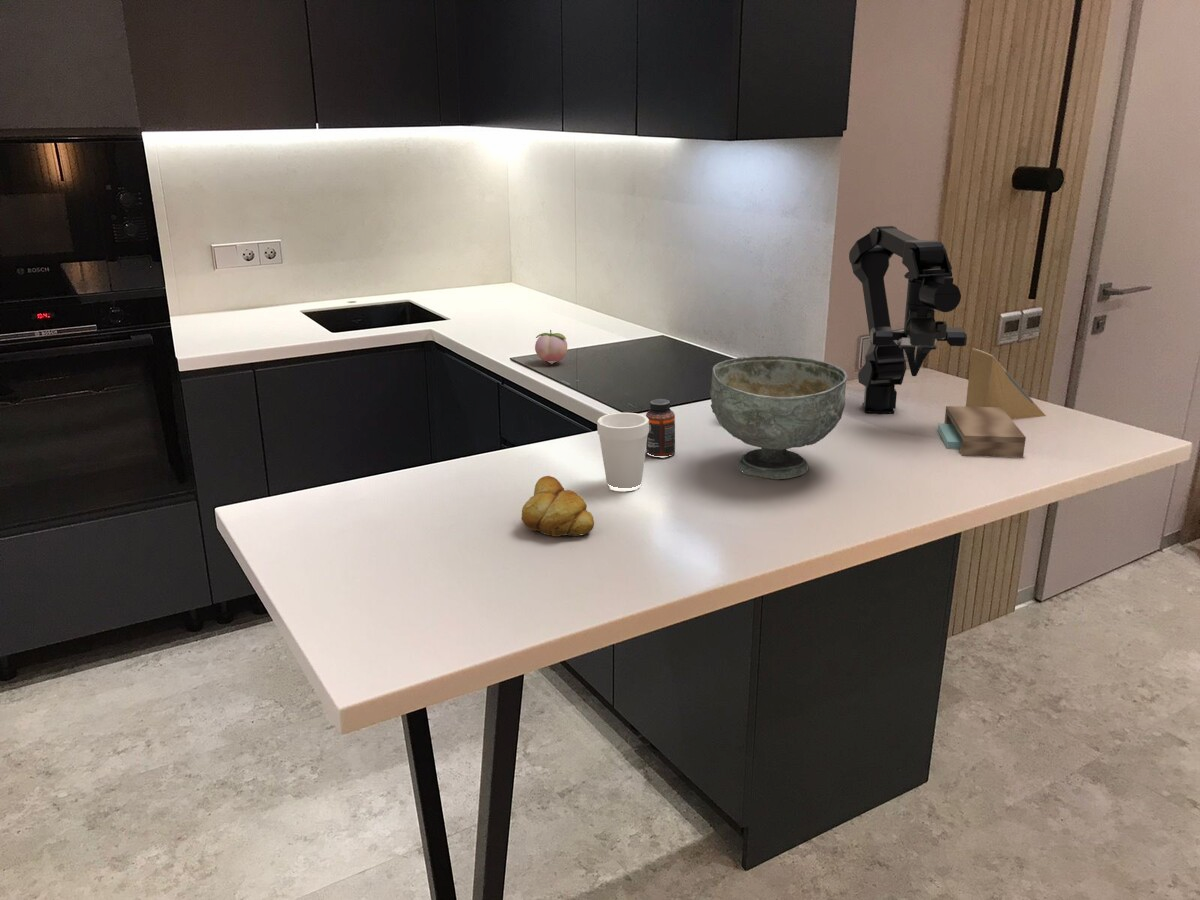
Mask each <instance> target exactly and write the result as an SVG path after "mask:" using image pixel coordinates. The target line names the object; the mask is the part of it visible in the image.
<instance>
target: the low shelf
mask: <svg viewBox="0 0 1200 900" xmlns="http://www.w3.org/2000/svg"><path fill="white" fill-rule="evenodd" d="M944 414H945V415H944V422H943V424H954V426H955V428H956V429H957V431H958V433H959V434H960V436H961V438H962V441H961V449H959V450H960V455H961V456H966V457H967V456H969V457H1000V458H1024V456H1025V455H1024V453H1025V446H1026V445H1025V444H1026V438H1027V436H1025V434H1024V433H1023V432H1022V431H1021V430H1020V428H1019V427H1018V426H1017V424H1016V423H1015V422H1014V421H1013V419H1011V418H1010V417H1009V416H1008V415H1007V413H1006V412H1005V411H1004V410H1003V408H1002V407H966V406H961V405H960V406H957V405H956V406H955V405H954V406H953V405H946V406H945V413H944Z"/></svg>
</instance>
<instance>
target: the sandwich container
mask: <svg viewBox="0 0 1200 900" xmlns="http://www.w3.org/2000/svg"><path fill="white" fill-rule="evenodd" d="M968 371H969V374H968V379H967V380H968V382H967V392H966V400H965V401H966V402H965V407H1002V408H1003V410H1004V411H1005V412H1006V413H1007V415H1008V416H1009V417H1010V418H1011V420H1017V419H1019V420H1020V419H1027V418H1029V419H1030V418H1039V417H1047V415H1046V414H1045V412H1043V410H1042V409H1041V408H1040V407H1039V406H1038V405H1037V403H1035V402H1034V401H1033V400H1032V398H1031V397H1030V396H1029V395H1028V394H1027V393H1026V392H1025V390H1024V389H1023V388H1022V387H1021V386H1020V385H1019V384H1018V383H1017V382H1016V381H1015V379H1014V378H1013V377H1012V376H1011V375H1010V373H1009V372H1008V371H1007V370H1006V369H1005V368H1004V367H1003V366H1002V364H1001V362H999V361H998V360H997V358H996V357H995V356H994V355H993V354H990V353H988V352H987V351H983V350H981V349H976V348H975V347H972V348H971V352H970V363H969V370H968Z"/></svg>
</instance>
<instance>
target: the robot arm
mask: <svg viewBox="0 0 1200 900" xmlns="http://www.w3.org/2000/svg"><path fill="white" fill-rule="evenodd" d="M894 254H895V255H897V256H899V257H900V258H901V260H902V261H901V263H902V265H903V266H904V267H905V268H906V269H907V270H908V271H907V272H906V273H905V274H904V279H907V288H906V289H907V291H906V301H905V302H906V303H905V310H904V311H905V313H904V325H903V331H902V330H901V331H899V330H898V331H894V330H892V326H891V317H890V313H889V306H888V299H887V292H886V286H885V276H886V273H887V272H888V270H889V267H890V259H891V258H892V256H893V255H894ZM848 259H849V262H850V265H851V268H852V269H851V270H852V273H853V274H854V276H856V278H857V280H858V281H860V282H861V284H862V291H863V299H864V305H865V314H866V319H867V326H868V327H867V328H868V335H869V342H870V345H869V348H868V349H867V352H866V353H865V357H864V360H865V363H864V365H863V366H862V367H861V369H860V370H859V372H858V374H857V377H858V378H857V379H858V383H859V384H860V385H863V386H864V394H863V402H862V408H863V411H864V413H872V414H873V413H874V414H876V413H877V414H895V409H896V407H897V396H898V395H897V394H898V392H897V390H896V387H895V386H897V385H898V386H902V384H903V381H904V377H905V374H906V370H907V363H906V361H907V362H908V366H909V370H910V373H911V377H917V376H918V373H919V371H920V370H921V366H922V365H923V362H924V361H925V359H926V357H927V356H928V354H929V353H930V352H931V351H932V350H937V348H938V347H937V345H936V344H937V342H939V341H940V342H946V343H947V344H948V345H949V346H950V347H966V346H967V339H968V337H967V334H966V332H965V331H964V330H963V329H962V328H961V327H954V326H953V327H951V326H950V327H948V323H947V321H946V320H937V321H936V319H935V310H936V311H938V312H942V313H950V312H952V311H954V310H955V309H956V308H958V306H959V304H960V302H961V298H962V294H961V291H960V288H959V286H957V285H956V284H954V277H953V272H952V270H953V266H952V264H951V261H950V259H949V257H948V253H947V250H946V247H945V245H944V244H943V242H942V241H941V240H933V239H932V240H930V239H918V238H916V237H914V236H912V235H910V234H907V233H906V232H905V231H902V230H900V229H898V228H897V227H896V226H894V225H881V226H879V225H877V226H875V227H873V228H872V229H870V231H869V232H868V233H867V234H866V235H864V236H863V237H860V238H859V239H858V240H856V241H855V243H854V244H853V246H852V247H851V248H850V251H849V253H848ZM896 341H897V343H896ZM904 352H905V353H904ZM904 354H905V355H906V358H905V355H904ZM906 359H907V360H906Z"/></svg>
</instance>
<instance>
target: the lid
mask: <svg viewBox="0 0 1200 900" xmlns="http://www.w3.org/2000/svg"><path fill="white" fill-rule="evenodd" d="M937 431H938V433H939V435H940V438H941V440H942V441H943V443H944V446H945V447H946V449H949V450H950V449H951V450H961V441H962V438H961V436H960V434H959V433H958V431H957V429H956V428H955V426H954V424H944V423H937Z"/></svg>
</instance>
